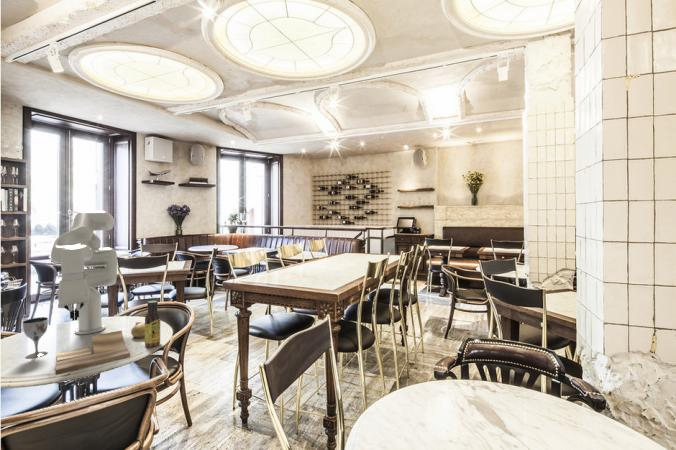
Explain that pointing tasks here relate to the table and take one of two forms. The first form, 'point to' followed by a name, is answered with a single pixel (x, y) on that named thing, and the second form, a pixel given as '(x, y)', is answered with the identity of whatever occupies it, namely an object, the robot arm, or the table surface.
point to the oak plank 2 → (107, 341)
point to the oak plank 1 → (73, 354)
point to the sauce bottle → (152, 325)
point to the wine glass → (35, 333)
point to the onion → (138, 330)
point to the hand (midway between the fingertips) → (74, 319)
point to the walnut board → (91, 359)
